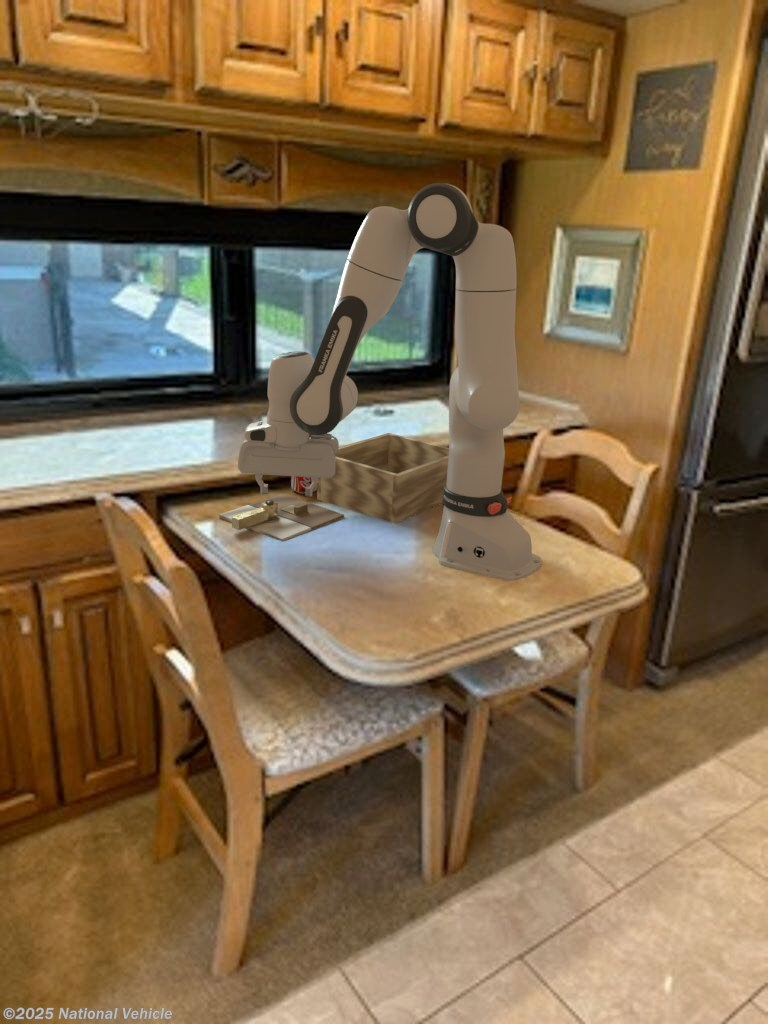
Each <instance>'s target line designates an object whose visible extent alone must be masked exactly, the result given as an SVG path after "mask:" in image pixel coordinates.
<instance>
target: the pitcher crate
mask: <svg viewBox="0 0 768 1024" xmlns="http://www.w3.org/2000/svg"><path fill="white" fill-rule="evenodd" d="M448 458H449V446H448V447H447V446H443V445H439V444H435V443H431V442H427V441H422V440H419V439H414V438H410V437H406V436H403V435H398V434H396V433H395V434H394V433H390V432H387V433H384V434H383V433H382V434H381V435H377V436H373V437H370V438H367V439H363V440H360V441H359V440H358V441H356V442H352V443H349V444H347V445H346V444H345V445H342V446H338V452H337V453H336V454H335V465H336V469H335V475H334V476H333V477H332V478H318V483H317V490H316V498H317V499H316V500H317V501H320V502H324V503H326V504H330V505H333V506H336V507H340V508H342V509H343V508H344V509H347V510H349V511H352V512H356V513H358V514H359V513H360V514H362V515H366V516H370V517H372V518H375V519H379V520H382V521H386V522H389V523H392V524H394V525H396V524H398V523H400V522H402V521H404V520H405V521H406V520H408V519H409V518H412V517H414V516H417V515H419V514H421V513H423V512H426V511H429V510H431V509H433V508H435V507H434V506H436V507H438V506H440V505H442V504H441V503H443V492H444V486H445V485H446V482H447V470H448ZM439 504H440V505H439ZM437 505H438V506H437ZM432 507H433V508H432ZM430 508H431V509H430ZM428 509H429V510H428Z"/></svg>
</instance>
